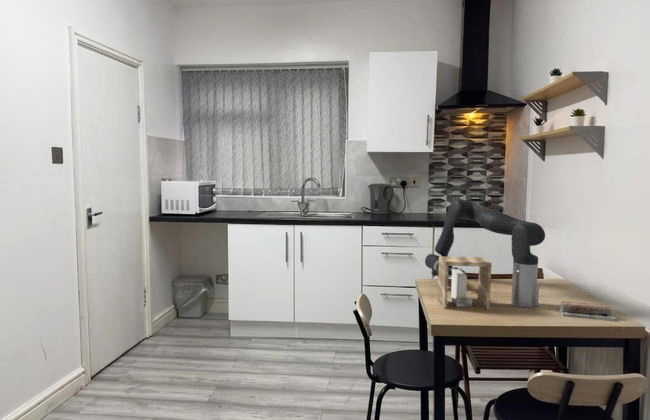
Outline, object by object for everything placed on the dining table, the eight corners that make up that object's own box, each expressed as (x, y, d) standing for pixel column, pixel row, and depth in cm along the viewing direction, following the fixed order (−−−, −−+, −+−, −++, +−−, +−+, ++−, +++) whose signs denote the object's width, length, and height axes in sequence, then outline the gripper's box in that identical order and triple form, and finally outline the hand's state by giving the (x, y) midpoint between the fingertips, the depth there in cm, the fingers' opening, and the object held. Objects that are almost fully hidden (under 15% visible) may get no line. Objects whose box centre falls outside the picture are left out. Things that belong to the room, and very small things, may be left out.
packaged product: (562, 304, 179) (558, 298, 188) (561, 317, 179) (558, 310, 189) (617, 309, 173) (610, 302, 183) (616, 322, 174) (610, 315, 183)
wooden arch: (480, 301, 198) (481, 257, 196) (489, 309, 186) (491, 262, 185) (437, 300, 198) (439, 256, 197) (444, 308, 186) (445, 261, 185)
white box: (458, 297, 205) (459, 269, 204) (465, 304, 193) (467, 275, 192) (451, 296, 205) (452, 269, 204) (458, 304, 193) (459, 275, 192)
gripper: (428, 260, 226) (435, 267, 210) (458, 261, 226) (468, 268, 210) (427, 276, 227) (435, 284, 211) (458, 276, 227) (467, 285, 211)
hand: (451, 276), depth 211 cm, fingers open, 8 cm apart
